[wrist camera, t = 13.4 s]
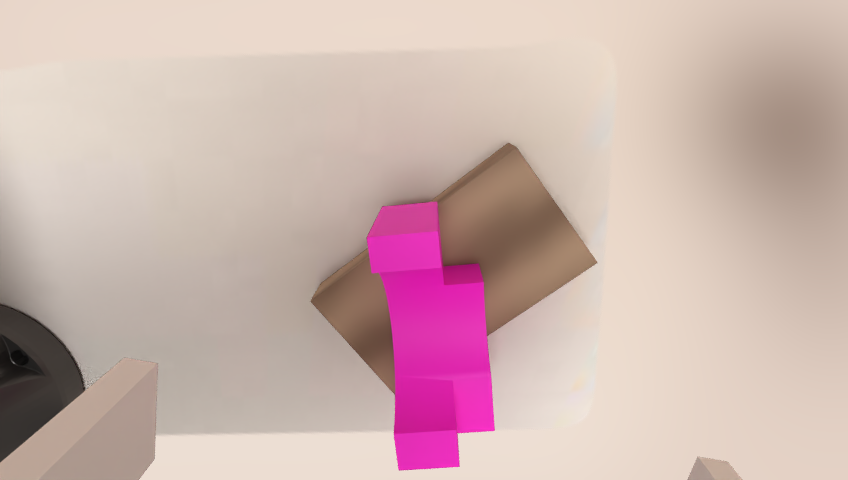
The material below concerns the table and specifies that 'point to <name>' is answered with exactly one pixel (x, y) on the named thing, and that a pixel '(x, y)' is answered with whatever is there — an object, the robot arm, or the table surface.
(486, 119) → the table surface
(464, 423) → the toy block
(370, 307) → the walnut base block
